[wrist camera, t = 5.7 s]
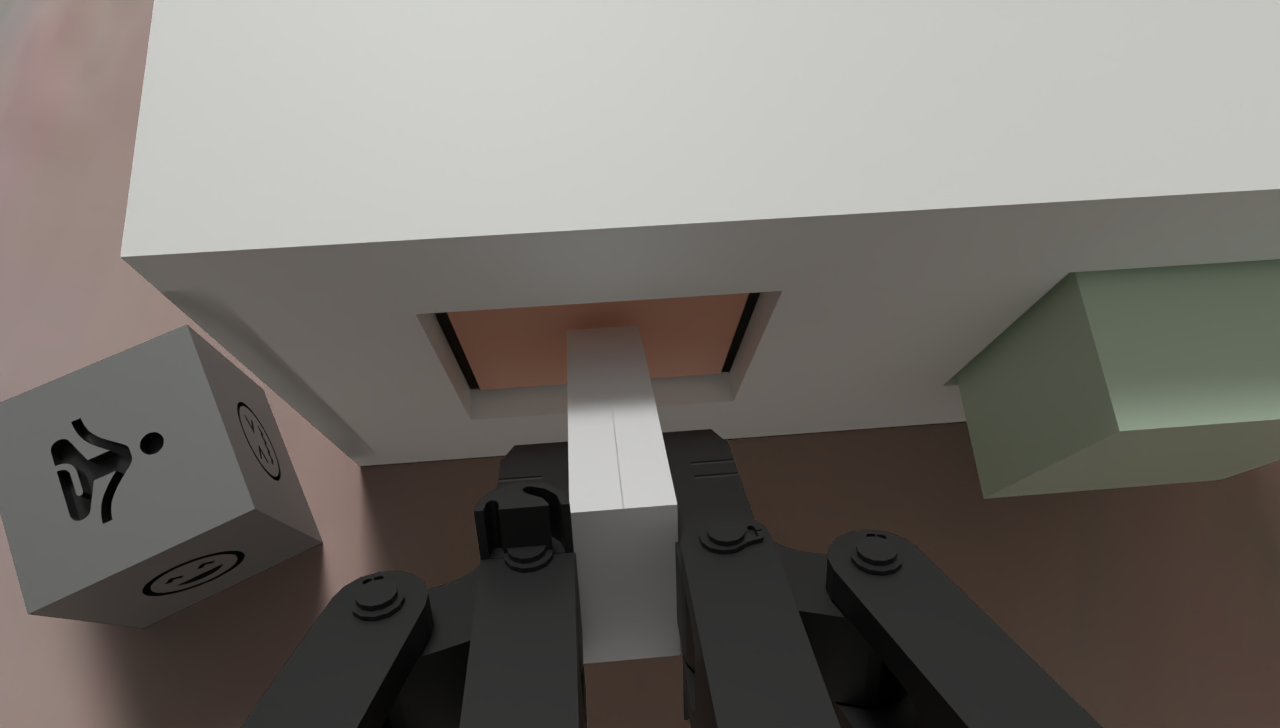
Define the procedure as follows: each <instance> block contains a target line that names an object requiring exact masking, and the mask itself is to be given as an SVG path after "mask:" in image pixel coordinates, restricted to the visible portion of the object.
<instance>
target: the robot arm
mask: <svg viewBox="0 0 1280 728" xmlns="http://www.w3.org/2000/svg"><path fill="white" fill-rule="evenodd" d="M566 339H567V401H568V441H567V442H554V443H540V444H526V445H514V446H513V448H512V449H511V450H510V451H509V452H508V454H507V455H506V456H505V457H504V458H503V459H502V461H501V464H500V473H499V482H498V489H496V490H493V491H491V492H490V493H488V494H487V495H486V496H485V497H483V498H482V499H481V500H480V501H479V502H478V504H477V507H476V509H475V511H474V514H475V521H476V529H477V536H478V543H479V550H480V557H481V563H480V566H478V567H477V568H476V569H475V570H474V571H473V572H471V573H469V574H468V575H466V576H464V577H462V578H461V579H458V580H455V581H453V582H450V583H448V584H445V585H441V586H438V587H435V588H431V589H428V590H427V588H426V585H425V583H424V582H423V581H422V580H421V579H419V578H418V577H417V576H415V575H414V574H410V573H405V572H401V571H386V572H377V573H374V574H370V575H367V576H364V577H360V578H359V579H357V580H355V581H353V582H351V583H350V584H348V585H346V586H344V587H343V588H342V589H341V590H340V591H339V592H338V593H337V594H336V595H335V596H334V597H333V598H332V599H331V601H330V602H329V603H328V605H327V606H326V608H325V609H324V610H323V612H322V613H321V615H320V616H319V618H318V619H317V620H316V622H315V623H314V625H313V626H312V627H311V629H310V630H309V632H308V633H307V634H306V636H305V637H304V639H303V640H302V642H301V643H300V644H299V646H298V647H297V649H296V650H295V651H294V653H293V654H292V656H291V657H290V658H289V660H288V661H287V663H286V664H285V666H284V667H283V668H282V670H281V671H280V673H279V674H278V675H277V677H276V678H275V680H274V681H273V682H272V684H271V685H270V687H269V688H268V690H267V691H266V692H265V694H264V695H263V697H262V698H261V699H260V701H259V702H258V704H257V705H256V706H255V708H254V709H253V711H252V712H251V714H250V715H249V716H248V718H247V719H246V721H245V722H244V723H243V725H242V726H241V728H587V714H586V689H585V678H584V666H583V664H587V663H599V662H610V661H621V660H632V659H644V658H655V657H666V656H678V655H681V646H682V652H683V687H684V720H688V719H690V724H691V728H1103V727H1101V726H1100V725H1099V724H1098V723H1097V722H1096V721H1095V720H1094V719H1093V718H1092V717H1091V716H1090V715H1089V714H1088V713H1087V712H1086V711H1085V710H1084V709H1083V708H1082V707H1081V706H1080V705H1079V704H1078V703H1077V702H1076V701H1075V700H1074V699H1073V698H1072V697H1071V696H1070V695H1069V694H1068V693H1066V692H1065V691H1064V690H1063V689H1062V688H1061V687H1060V686H1059V685H1058V684H1057V683H1056V682H1055V681H1054V680H1053V679H1052V678H1051V677H1050V676H1049V675H1048V674H1047V673H1046V672H1045V671H1044V670H1043V669H1042V668H1041V667H1040V666H1039V665H1038V664H1037V663H1036V662H1035V661H1034V660H1032V659H1031V658H1030V657H1029V656H1028V655H1027V654H1026V653H1025V652H1024V651H1023V650H1022V649H1021V648H1020V647H1019V646H1018V645H1017V644H1016V643H1015V642H1014V641H1013V640H1012V639H1011V638H1010V637H1009V636H1008V635H1007V634H1006V633H1005V632H1004V631H1003V630H1002V629H1001V628H1000V627H999V626H997V625H996V624H995V623H994V622H993V621H992V620H991V619H990V618H989V617H988V616H987V615H986V614H985V613H984V612H983V611H982V610H981V609H980V608H979V607H978V606H977V605H976V604H975V603H974V602H973V601H972V600H971V599H970V598H969V597H968V596H967V595H966V594H965V593H964V592H962V591H961V590H960V589H959V588H958V587H957V586H956V585H955V584H954V583H953V582H952V581H951V580H950V579H949V578H948V577H947V576H946V575H945V574H944V573H943V572H942V571H941V570H940V569H939V568H938V567H937V566H936V565H935V564H934V563H933V562H932V561H931V560H930V559H929V558H927V557H926V556H925V555H924V554H923V553H922V552H921V551H920V550H919V549H918V548H917V547H916V546H914V545H913V544H911V543H910V542H908V541H907V540H906V539H904V538H902V537H899V536H896V535H893V534H891V533H888V532H882V531H874V530H861V531H852V532H849V533H846V534H844V535H842V536H839V537H837V538H836V539H835V540H834V541H833V543H832V544H831V545H830V546H829V550H828V555H824V554H816V553H809V552H802V551H798V550H793V549H789V548H786V547H784V546H781V545H778V544H777V543H775V542H773V540H772V537H771V535H770V534H769V532H768V531H767V529H766V528H765V527H764V526H763V525H762V524H760V523H759V522H757V521H755V520H754V518H753V515H752V512H751V509H750V506H749V503H748V500H747V497H746V494H745V492H744V489H743V486H742V483H741V480H740V477H739V476H738V471H737V469H736V466H735V463H734V462H733V457H732V454H731V451H730V448H729V445H728V443H727V442H726V441H725V440H724V439H723V438H721V437H720V436H719V435H718V434H717V433H715V432H714V431H713V430H712V429H704V430H690V431H676V432H663V433H662V431H661V426H660V422H659V417H658V412H657V408H656V403H655V398H654V394H653V389H652V384H651V380H650V375H649V370H648V366H647V361H646V356H645V352H644V347H643V342H642V338H641V333H640V329H639V325H636V326H621V327H605V328H590V329H575V330H566ZM680 640H681V646H680Z"/></svg>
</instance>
